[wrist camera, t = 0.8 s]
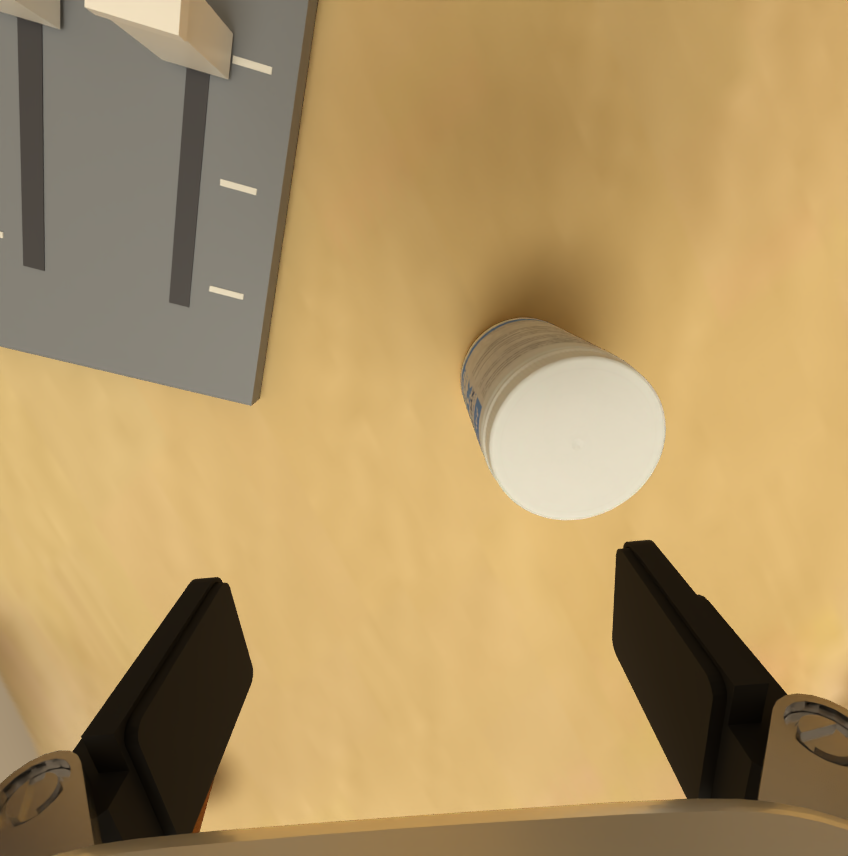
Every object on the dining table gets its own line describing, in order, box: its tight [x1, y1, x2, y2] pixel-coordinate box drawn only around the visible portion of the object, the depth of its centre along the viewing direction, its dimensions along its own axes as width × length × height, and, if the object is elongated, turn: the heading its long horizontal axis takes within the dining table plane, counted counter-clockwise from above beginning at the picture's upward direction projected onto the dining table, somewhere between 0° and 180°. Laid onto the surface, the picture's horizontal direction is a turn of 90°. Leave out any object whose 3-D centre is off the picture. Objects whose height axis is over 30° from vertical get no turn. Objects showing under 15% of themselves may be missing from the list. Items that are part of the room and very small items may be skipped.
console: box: [0, 0, 318, 406], centre depth 32 cm, size 28×22×2 cm
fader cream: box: [84, 0, 233, 79], centre depth 25 cm, size 3×4×7 cm, turn 75°
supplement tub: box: [461, 318, 666, 520], centre depth 31 cm, size 10×10×15 cm
